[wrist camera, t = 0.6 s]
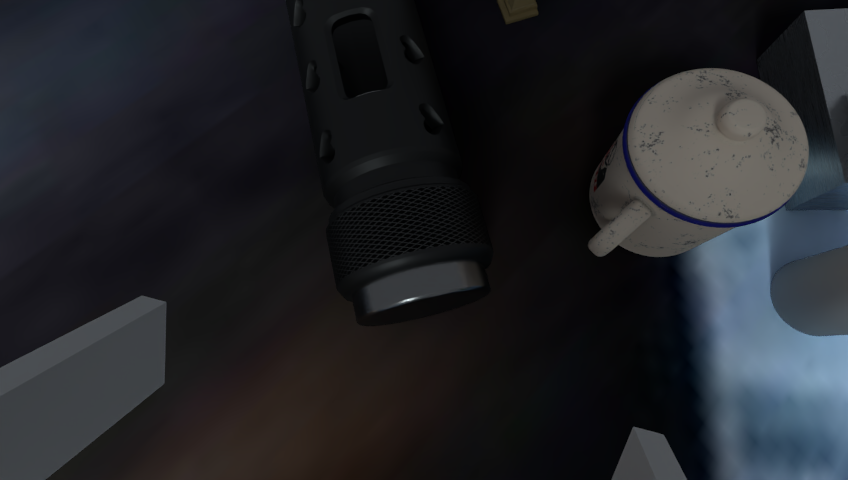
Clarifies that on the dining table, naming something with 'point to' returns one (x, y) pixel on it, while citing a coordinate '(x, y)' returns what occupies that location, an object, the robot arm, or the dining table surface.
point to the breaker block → (816, 101)
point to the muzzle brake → (387, 162)
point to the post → (814, 293)
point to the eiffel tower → (517, 9)
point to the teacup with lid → (697, 163)
